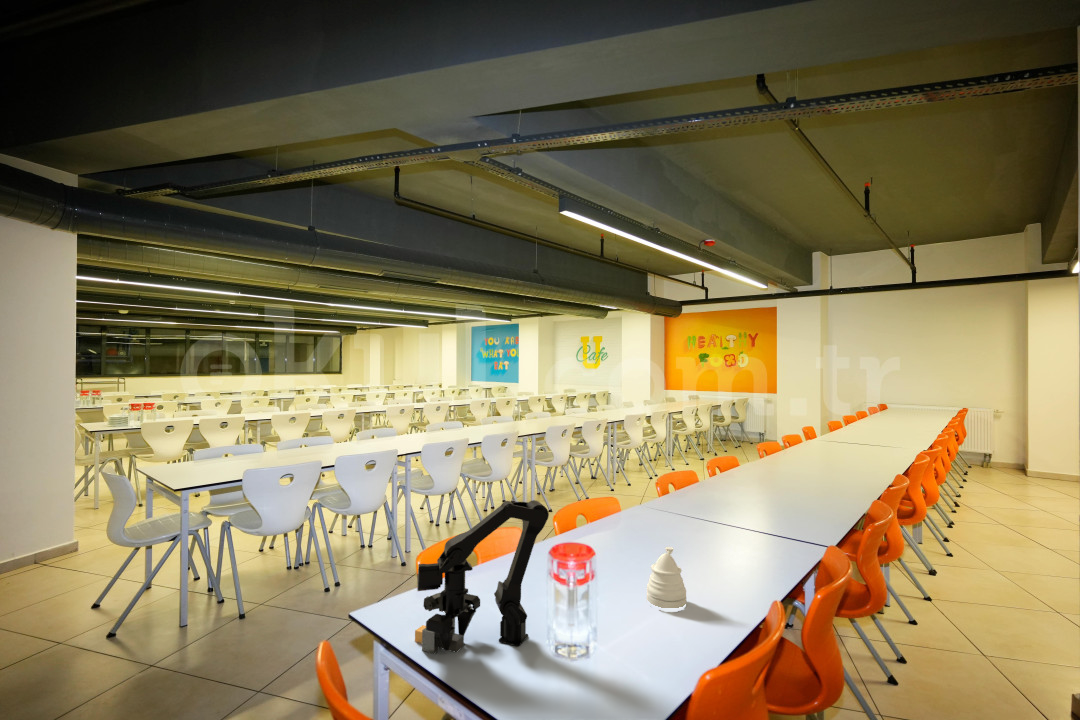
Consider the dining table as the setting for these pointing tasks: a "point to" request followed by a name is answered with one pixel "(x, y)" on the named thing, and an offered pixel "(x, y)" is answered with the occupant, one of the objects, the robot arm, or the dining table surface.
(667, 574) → the honey pot
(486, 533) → the robot arm
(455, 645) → the plug
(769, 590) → the dining table surface
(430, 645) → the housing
